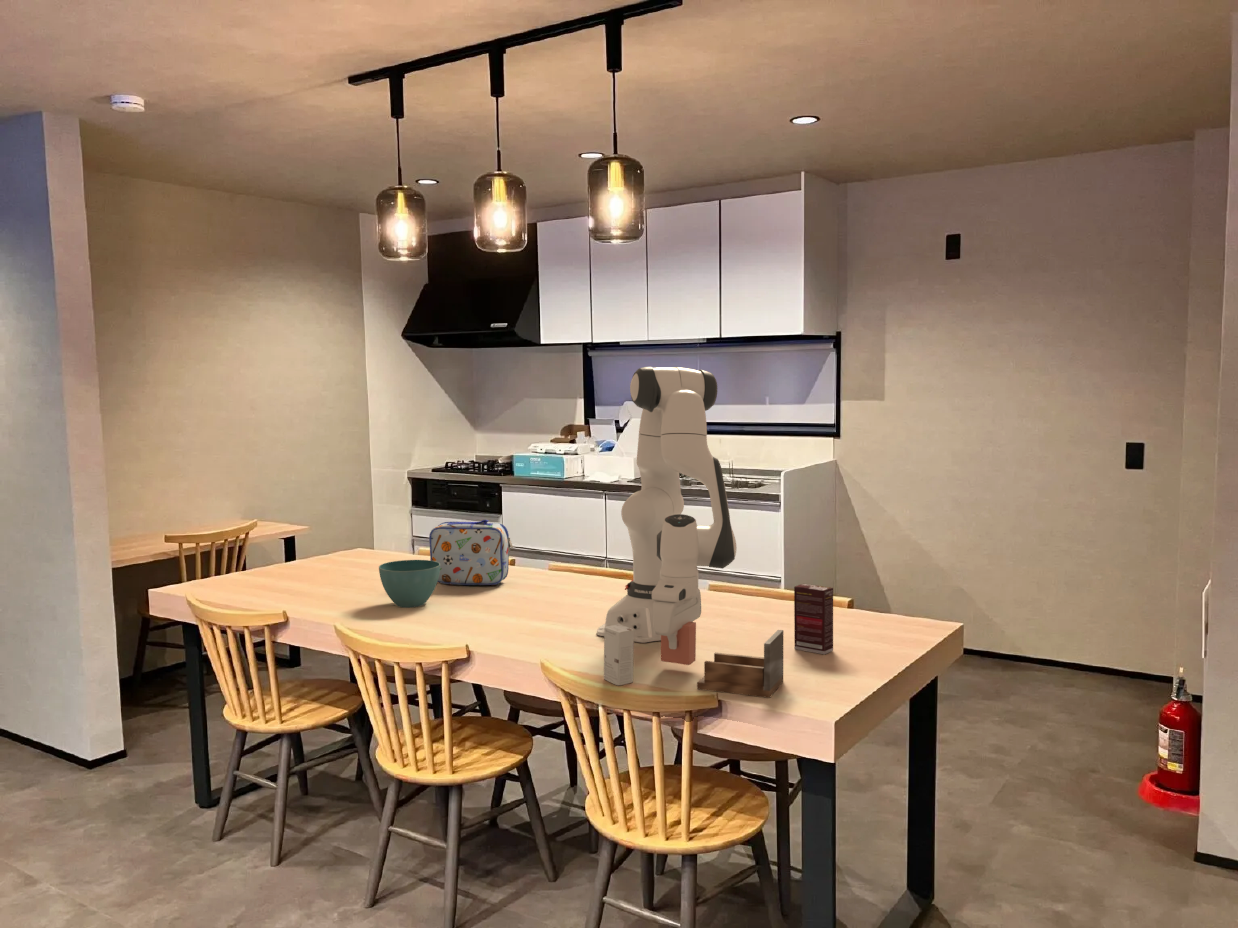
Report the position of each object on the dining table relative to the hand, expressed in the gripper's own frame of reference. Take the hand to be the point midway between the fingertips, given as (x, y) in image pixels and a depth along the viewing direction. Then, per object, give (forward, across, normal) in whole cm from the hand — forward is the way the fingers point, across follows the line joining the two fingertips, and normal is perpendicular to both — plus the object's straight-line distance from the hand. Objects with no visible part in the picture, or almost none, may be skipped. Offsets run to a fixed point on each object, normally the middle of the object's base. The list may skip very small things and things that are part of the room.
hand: (678, 645), depth 219 cm
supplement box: (+6, -29, +24) cm, 38 cm away
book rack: (+6, +5, +17) cm, 18 cm away
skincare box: (+6, +13, -9) cm, 17 cm away
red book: (+4, 0, 0) cm, 4 cm away
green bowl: (+8, -28, -100) cm, 104 cm away
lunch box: (+8, -62, -101) cm, 118 cm away
